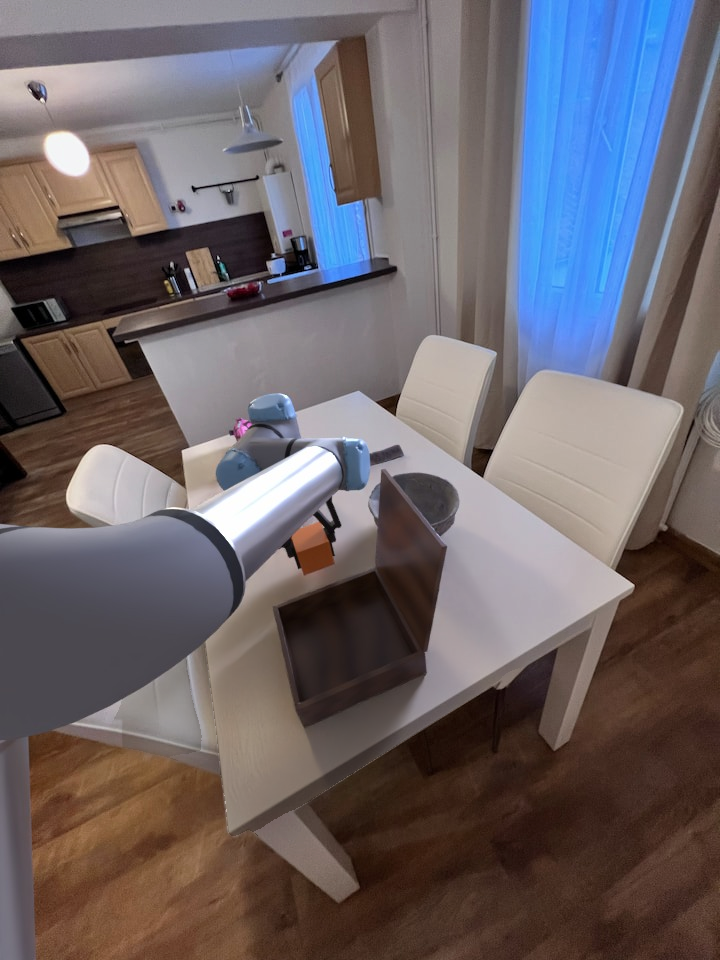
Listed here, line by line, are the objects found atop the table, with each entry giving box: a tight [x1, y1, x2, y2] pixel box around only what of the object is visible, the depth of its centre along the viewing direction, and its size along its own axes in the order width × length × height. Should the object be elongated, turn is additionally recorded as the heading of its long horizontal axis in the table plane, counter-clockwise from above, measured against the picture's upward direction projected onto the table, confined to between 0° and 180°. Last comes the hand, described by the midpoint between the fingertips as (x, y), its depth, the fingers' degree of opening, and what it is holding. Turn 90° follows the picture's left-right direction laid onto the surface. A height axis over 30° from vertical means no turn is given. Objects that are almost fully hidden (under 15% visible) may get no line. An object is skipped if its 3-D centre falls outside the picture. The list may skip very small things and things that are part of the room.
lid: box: [374, 468, 448, 653], centre depth 67 cm, size 23×21×4 cm
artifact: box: [369, 444, 405, 466], centre depth 123 cm, size 4×14×2 cm, turn 108°
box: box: [271, 566, 428, 729], centre depth 73 cm, size 22×21×6 cm
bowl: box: [367, 471, 460, 537], centre depth 94 cm, size 21×21×10 cm
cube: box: [292, 521, 336, 576], centre depth 87 cm, size 7×7×7 cm
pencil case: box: [228, 417, 251, 442], centre depth 134 cm, size 21×10×10 cm, turn 24°
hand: (315, 558), depth 89 cm, fingers closed on cube, 7 cm apart
